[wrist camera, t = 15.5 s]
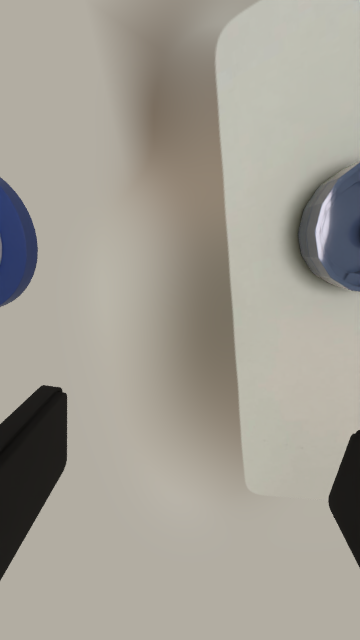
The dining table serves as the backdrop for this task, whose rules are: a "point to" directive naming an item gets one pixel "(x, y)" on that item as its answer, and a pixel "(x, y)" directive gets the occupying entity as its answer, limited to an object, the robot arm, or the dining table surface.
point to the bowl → (334, 230)
